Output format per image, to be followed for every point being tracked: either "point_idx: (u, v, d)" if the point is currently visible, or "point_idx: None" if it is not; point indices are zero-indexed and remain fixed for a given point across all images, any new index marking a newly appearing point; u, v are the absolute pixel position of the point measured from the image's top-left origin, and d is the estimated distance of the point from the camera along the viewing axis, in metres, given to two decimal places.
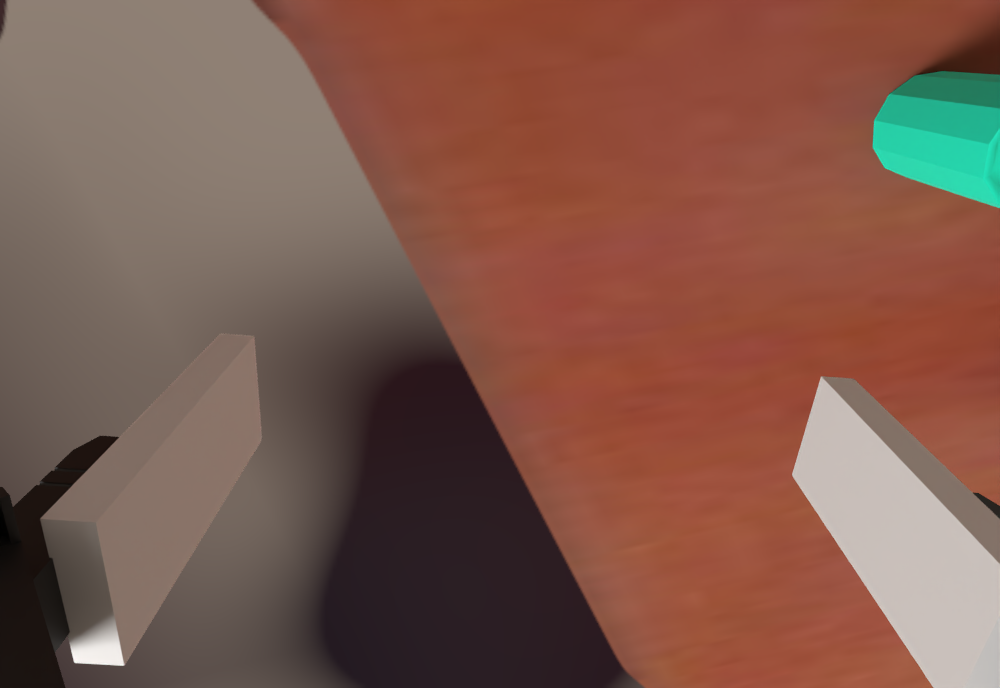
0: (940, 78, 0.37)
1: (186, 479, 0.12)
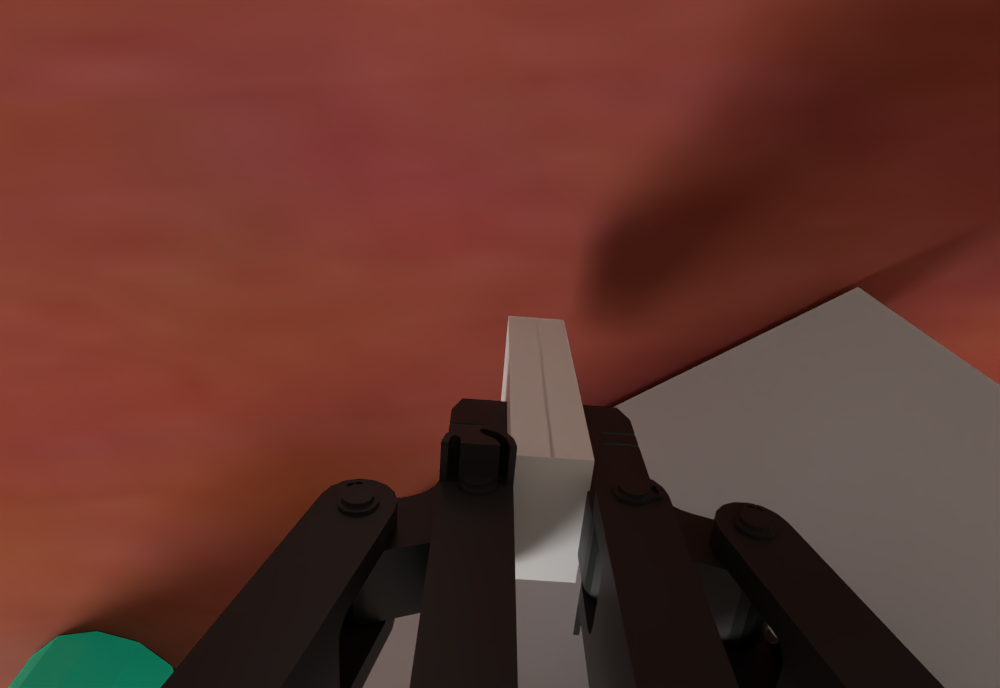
0: None
1: None
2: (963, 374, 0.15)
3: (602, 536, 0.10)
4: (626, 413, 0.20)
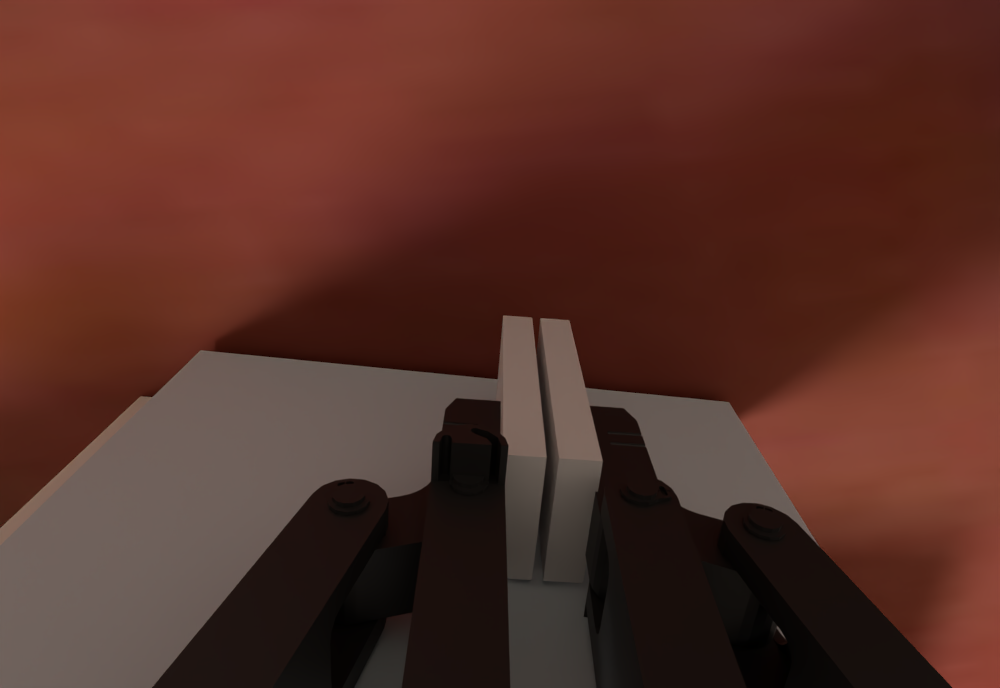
0: None
1: None
2: (785, 509, 0.16)
3: (610, 536, 0.10)
4: (485, 389, 0.20)
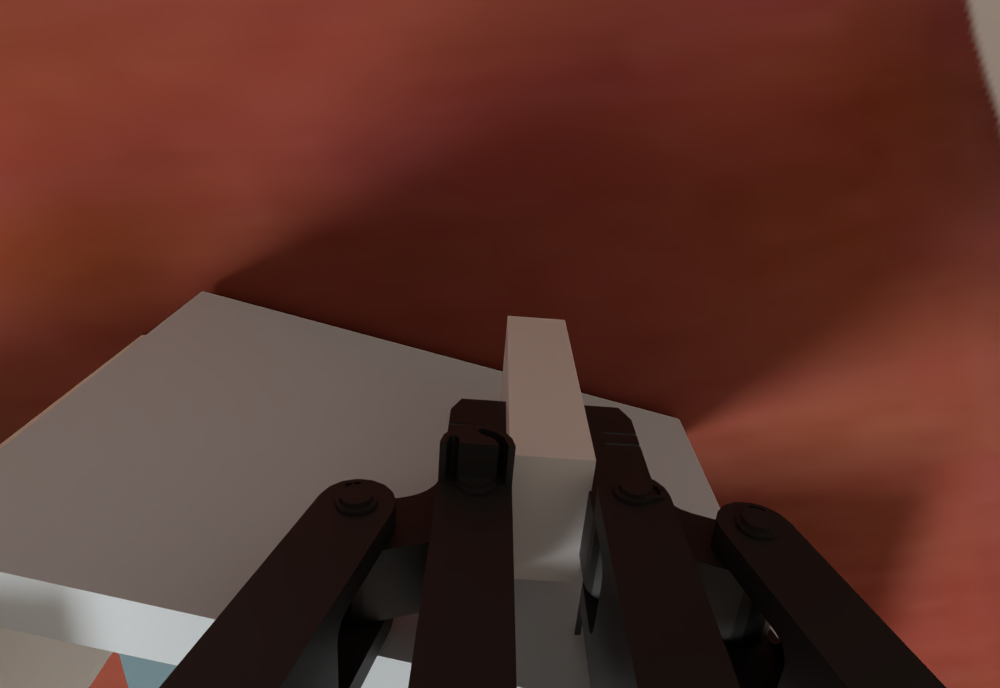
0: None
1: None
2: (715, 516, 0.18)
3: (603, 536, 0.10)
4: (464, 371, 0.22)
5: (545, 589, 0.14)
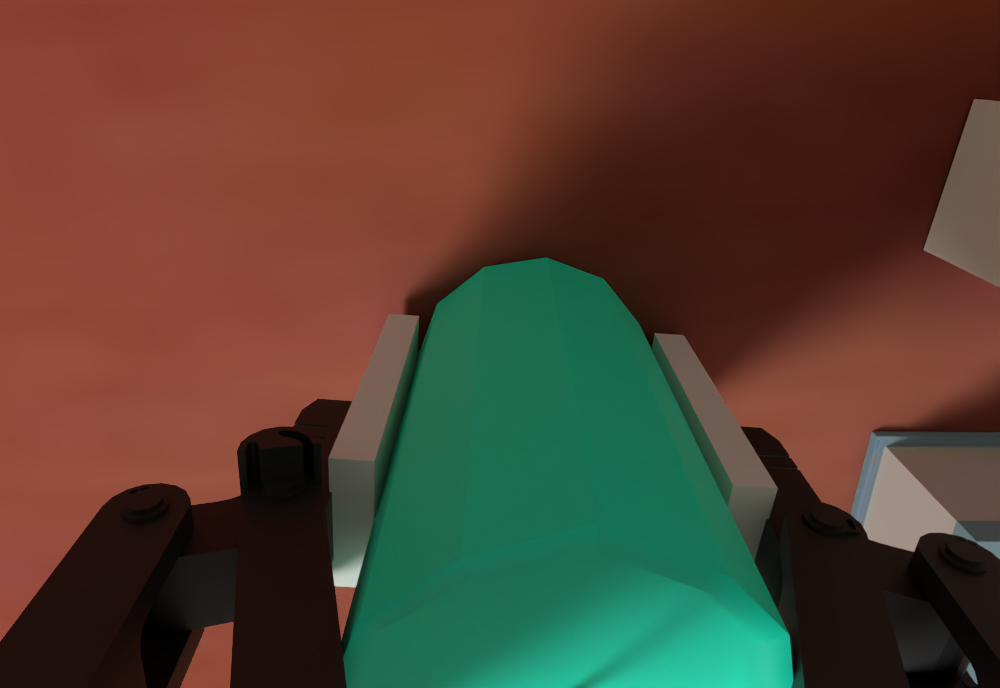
0: (480, 304, 0.15)
1: (396, 436, 0.14)
2: None
3: (787, 558, 0.10)
4: None
5: None
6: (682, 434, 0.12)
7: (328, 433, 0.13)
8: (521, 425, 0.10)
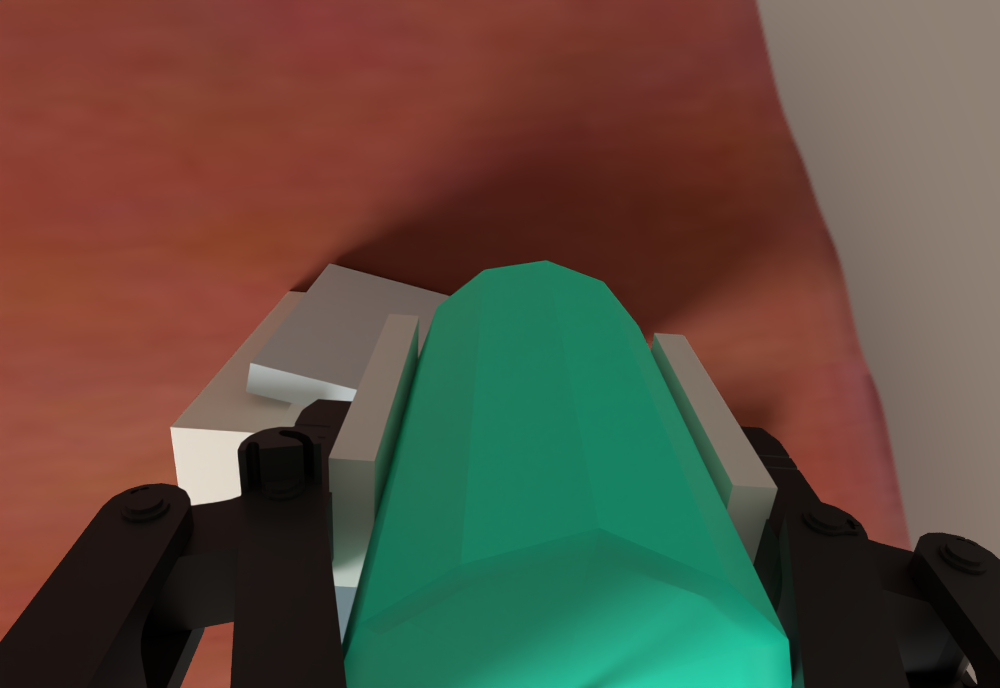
0: (479, 308, 0.15)
1: (396, 436, 0.14)
2: None
3: (787, 558, 0.10)
4: None
5: None
6: (681, 438, 0.12)
7: (328, 433, 0.13)
8: (520, 430, 0.10)
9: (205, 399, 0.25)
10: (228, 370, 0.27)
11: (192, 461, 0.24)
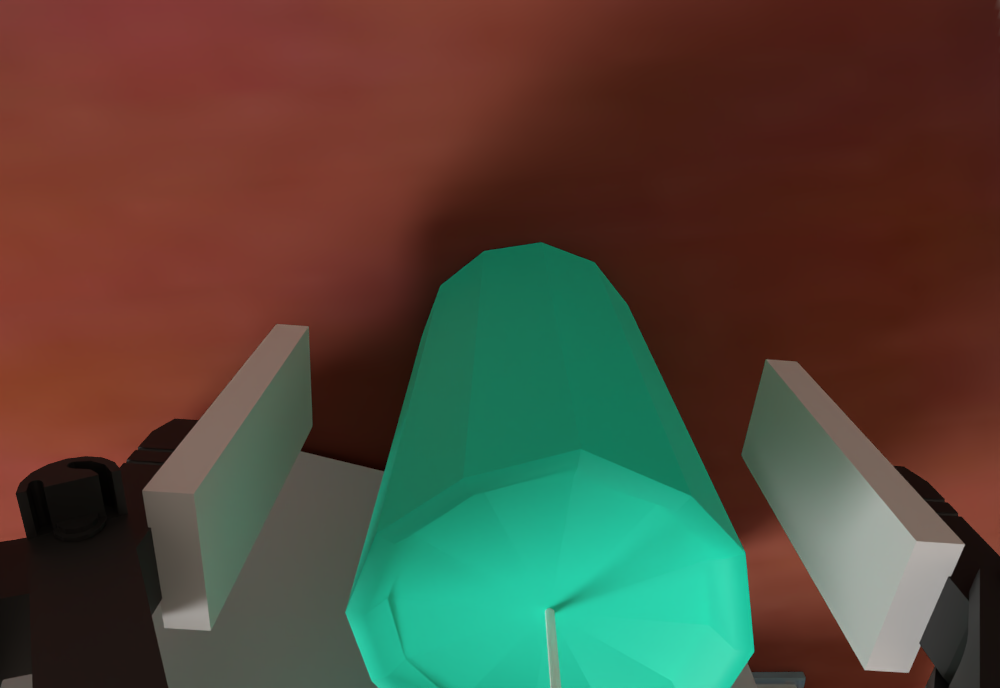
0: (480, 283, 0.16)
1: (257, 460, 0.13)
2: None
3: (976, 614, 0.09)
4: None
5: None
6: (660, 393, 0.13)
7: None
8: (515, 378, 0.11)
9: None
10: None
11: None
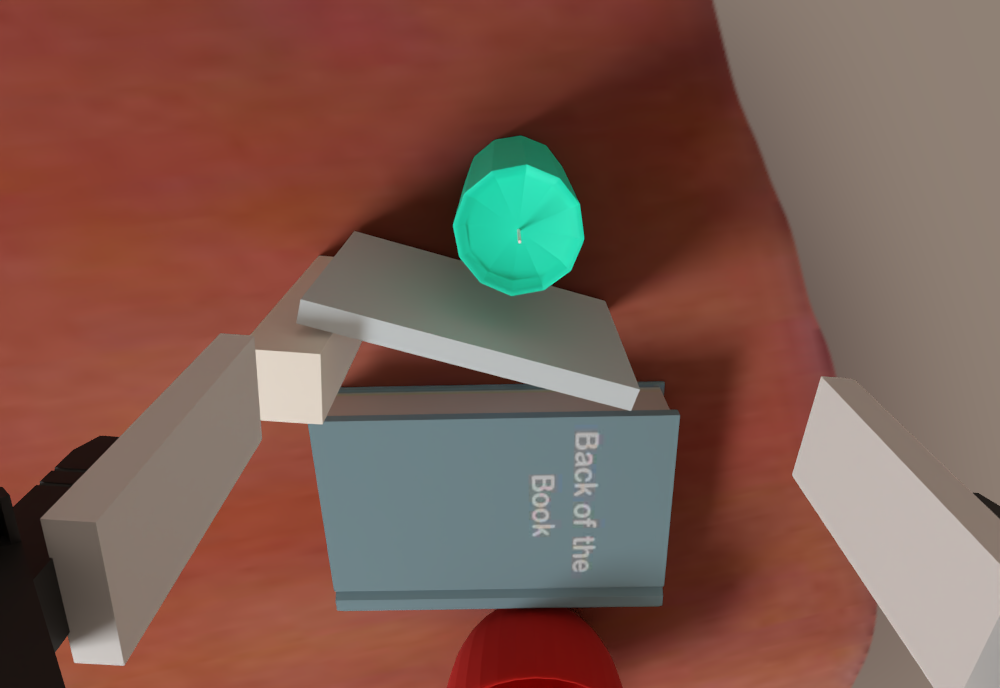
0: (493, 146, 0.37)
1: (186, 479, 0.12)
2: (613, 333, 0.38)
3: None
4: None
5: (532, 340, 0.34)
6: (563, 175, 0.34)
7: None
8: (507, 158, 0.32)
9: (262, 330, 0.31)
10: (277, 311, 0.33)
11: None
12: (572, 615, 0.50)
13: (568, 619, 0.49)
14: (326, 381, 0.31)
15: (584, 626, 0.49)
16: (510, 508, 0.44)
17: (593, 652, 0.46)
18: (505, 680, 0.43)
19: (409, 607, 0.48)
